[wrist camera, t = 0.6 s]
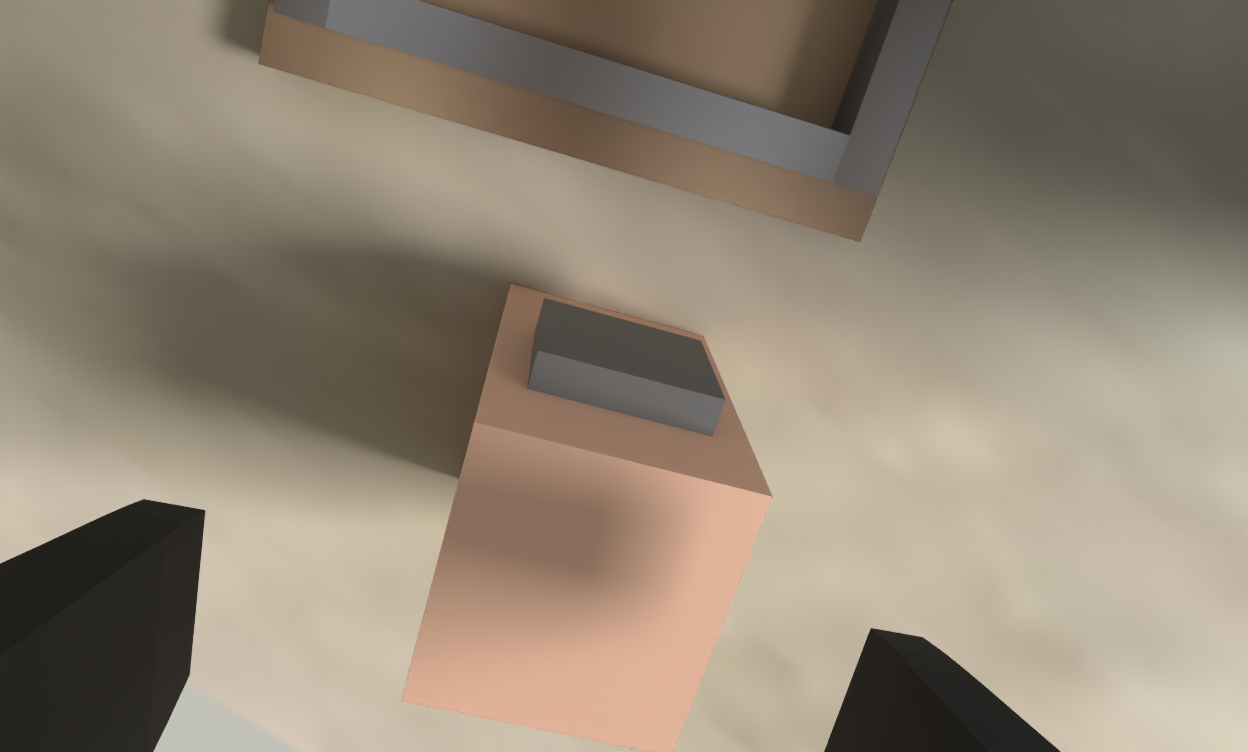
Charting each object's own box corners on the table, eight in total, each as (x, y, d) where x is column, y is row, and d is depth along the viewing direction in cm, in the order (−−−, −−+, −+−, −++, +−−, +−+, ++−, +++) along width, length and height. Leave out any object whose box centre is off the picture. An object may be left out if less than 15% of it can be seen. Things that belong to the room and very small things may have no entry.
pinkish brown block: (712, 308, 19) (787, 457, 12) (640, 522, 20) (671, 756, 14) (518, 254, 18) (486, 379, 11) (459, 478, 20) (401, 700, 13)
